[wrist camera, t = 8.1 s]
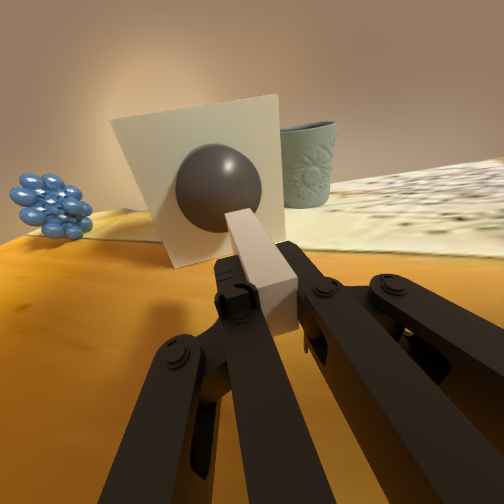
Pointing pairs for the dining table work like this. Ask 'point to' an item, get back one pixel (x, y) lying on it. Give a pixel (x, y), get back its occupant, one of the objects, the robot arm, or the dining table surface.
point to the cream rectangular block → (189, 138)
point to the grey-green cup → (307, 163)
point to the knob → (216, 186)
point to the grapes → (52, 206)
